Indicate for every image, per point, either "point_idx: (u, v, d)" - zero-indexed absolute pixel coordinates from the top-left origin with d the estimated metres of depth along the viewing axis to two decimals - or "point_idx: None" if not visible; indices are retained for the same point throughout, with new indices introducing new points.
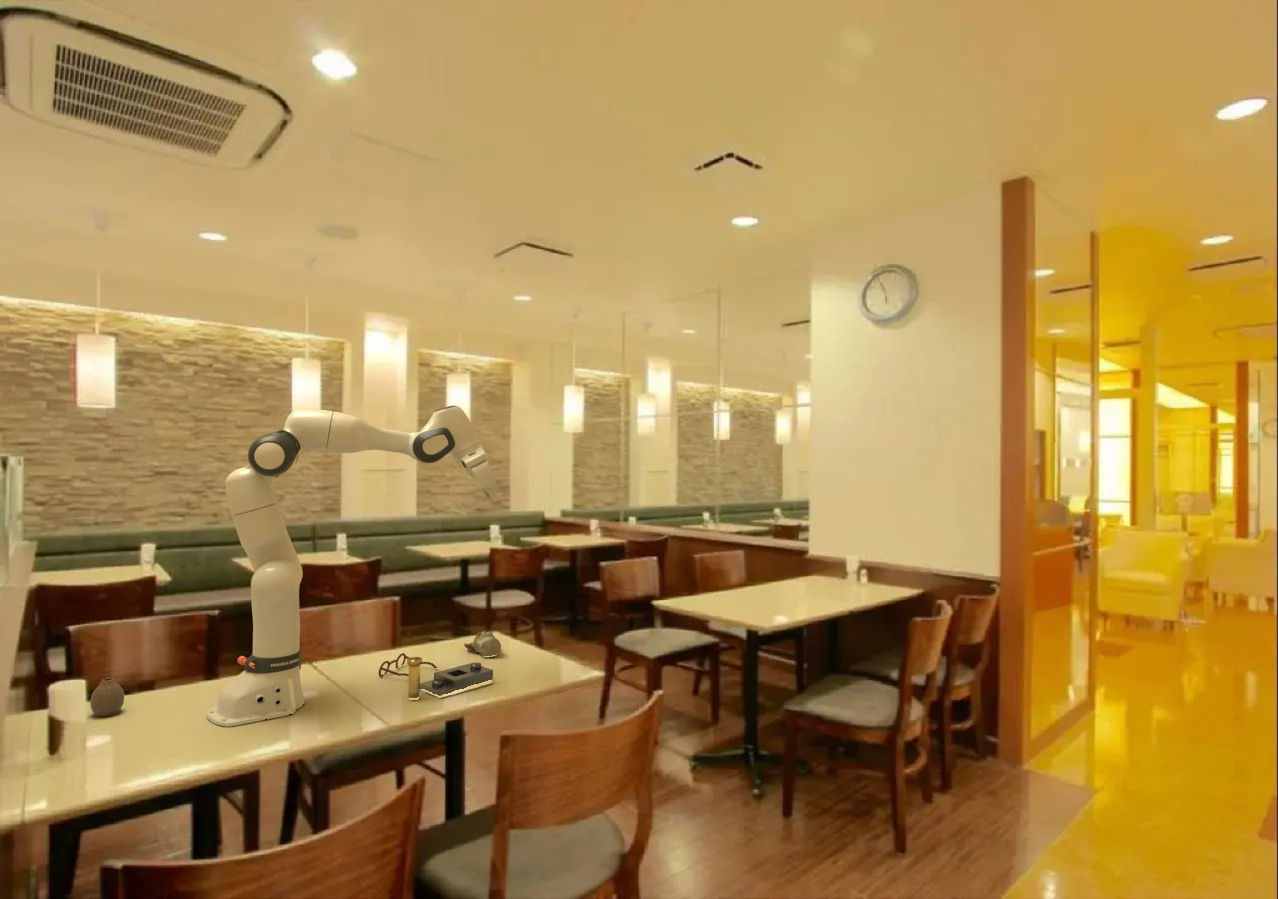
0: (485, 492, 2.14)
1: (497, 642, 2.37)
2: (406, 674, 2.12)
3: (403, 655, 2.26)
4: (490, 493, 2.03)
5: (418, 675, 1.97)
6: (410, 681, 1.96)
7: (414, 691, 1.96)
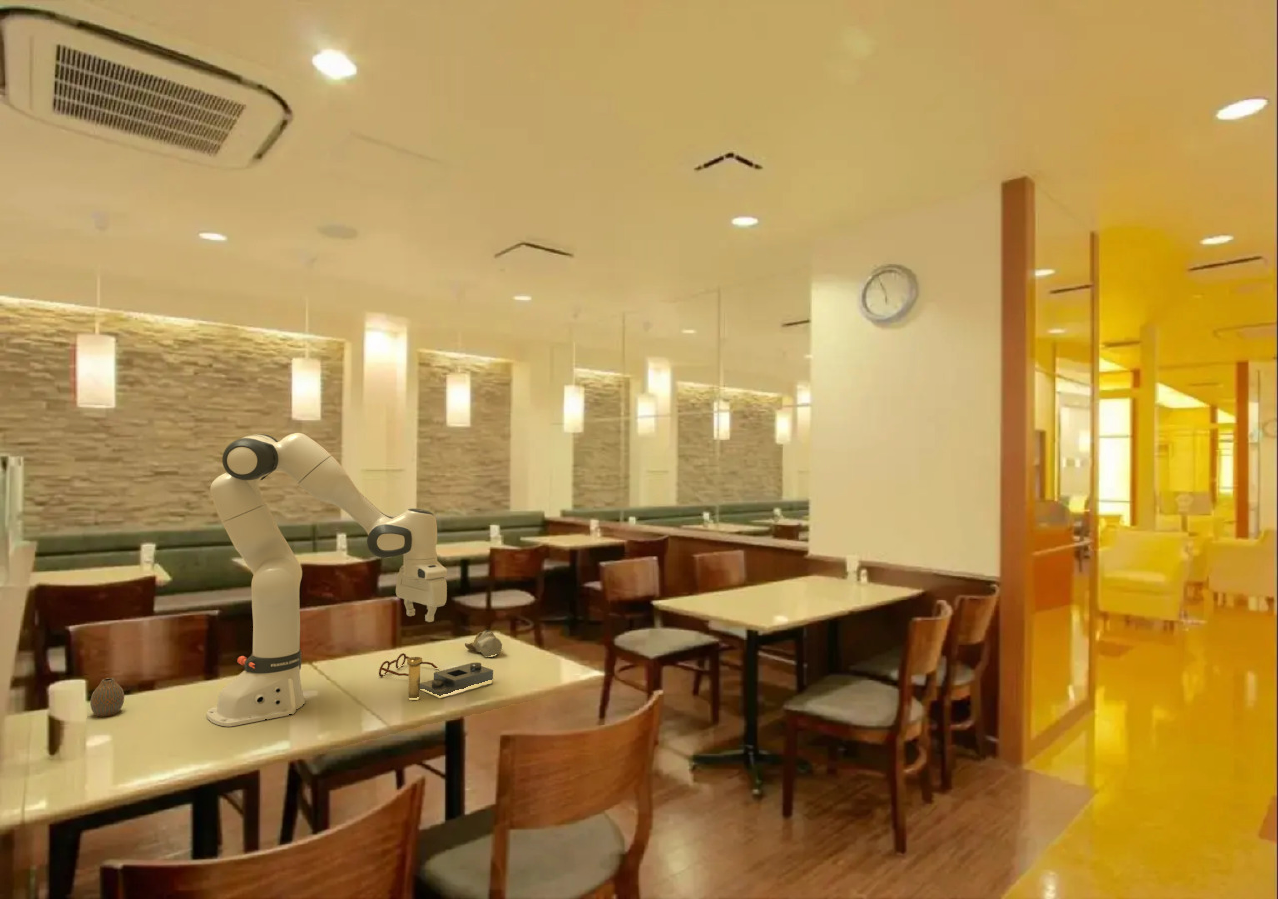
0: (408, 607, 2.01)
1: (498, 642, 2.38)
2: (406, 674, 2.12)
3: (404, 655, 2.26)
4: (430, 612, 1.93)
5: (418, 675, 1.97)
6: (410, 681, 1.96)
7: (414, 691, 1.96)
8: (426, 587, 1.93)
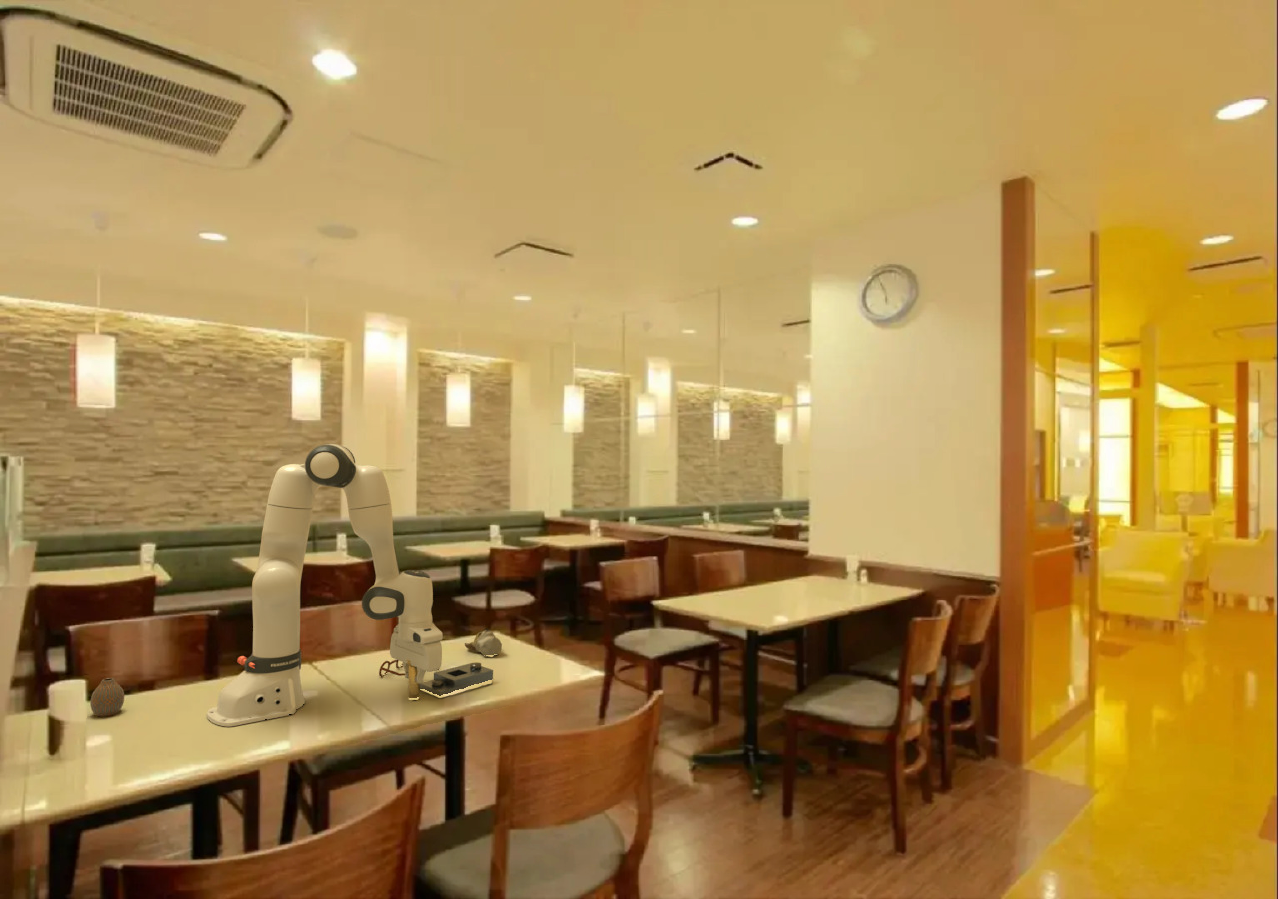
0: (407, 670, 1.99)
1: (498, 642, 2.38)
2: None
3: None
4: (420, 673, 1.95)
5: None
6: (410, 681, 1.96)
7: (414, 691, 1.96)
8: (421, 651, 1.93)
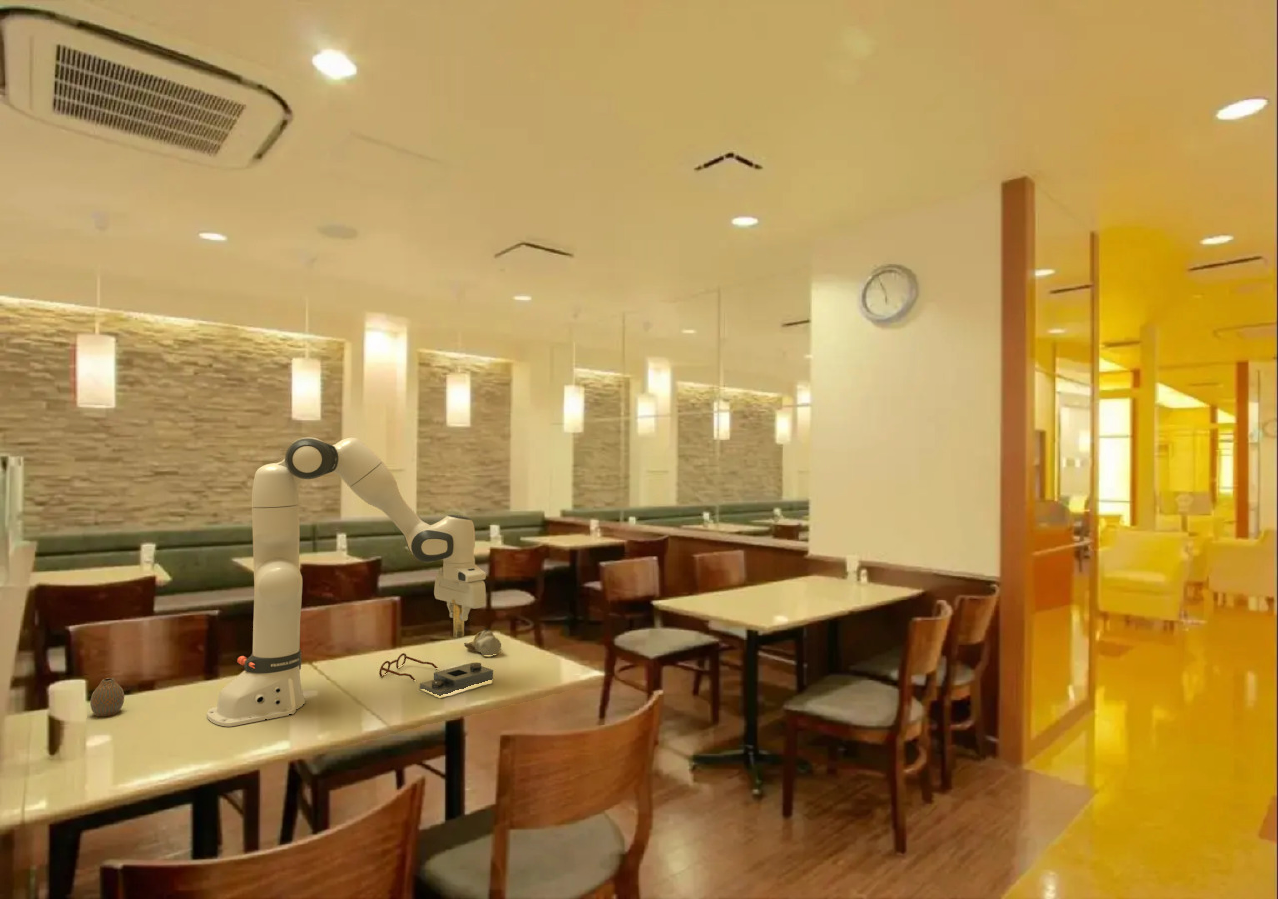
0: (451, 610, 2.09)
1: (497, 642, 2.38)
2: (407, 674, 2.12)
3: (404, 655, 2.26)
4: (465, 611, 2.05)
5: None
6: (455, 619, 2.07)
7: (459, 628, 2.07)
8: (466, 589, 2.03)
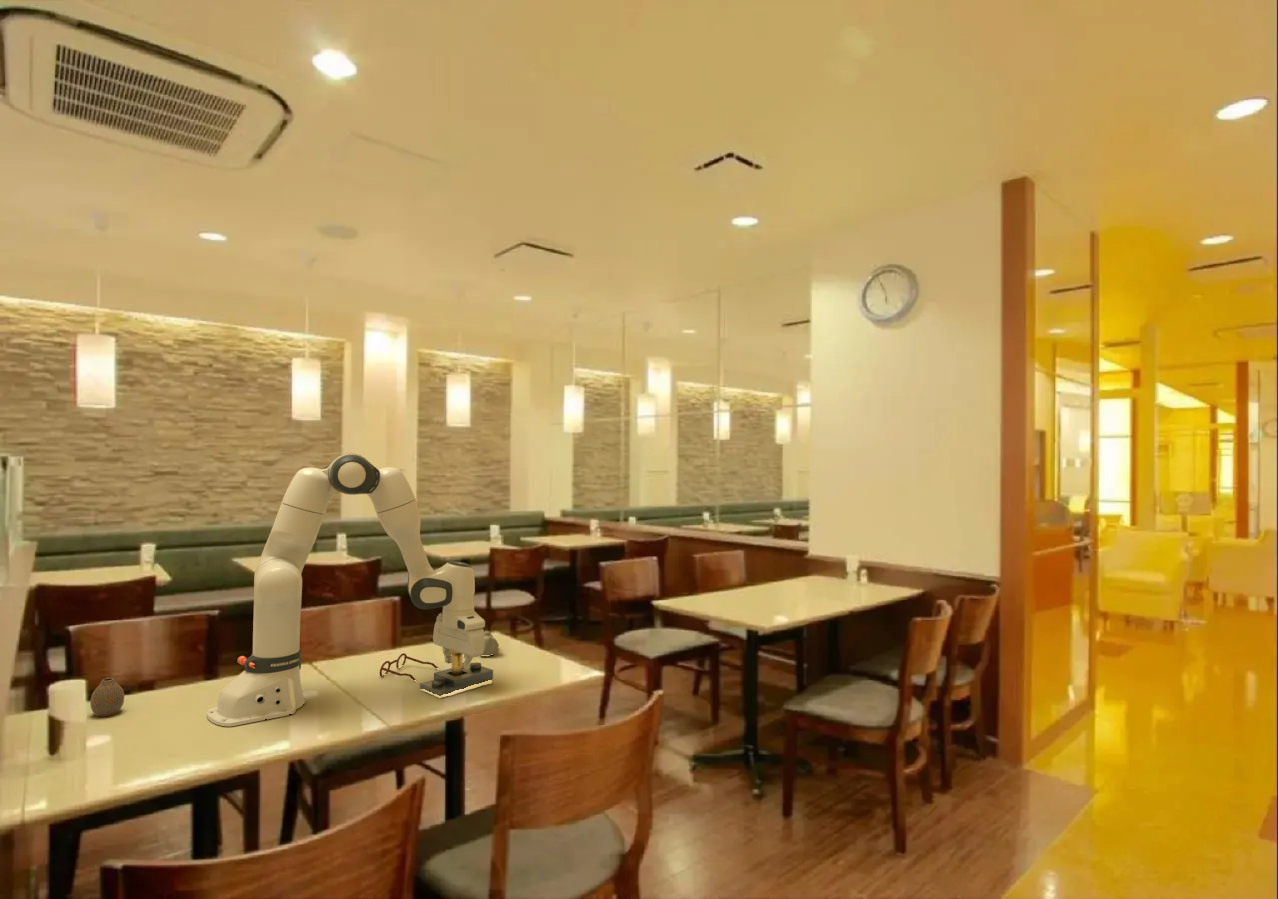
0: (446, 655, 2.11)
1: (494, 642, 2.38)
2: (407, 674, 2.12)
3: (404, 655, 2.26)
4: (467, 660, 2.04)
5: (461, 664, 2.08)
6: (453, 669, 2.07)
7: None
8: (465, 637, 2.03)
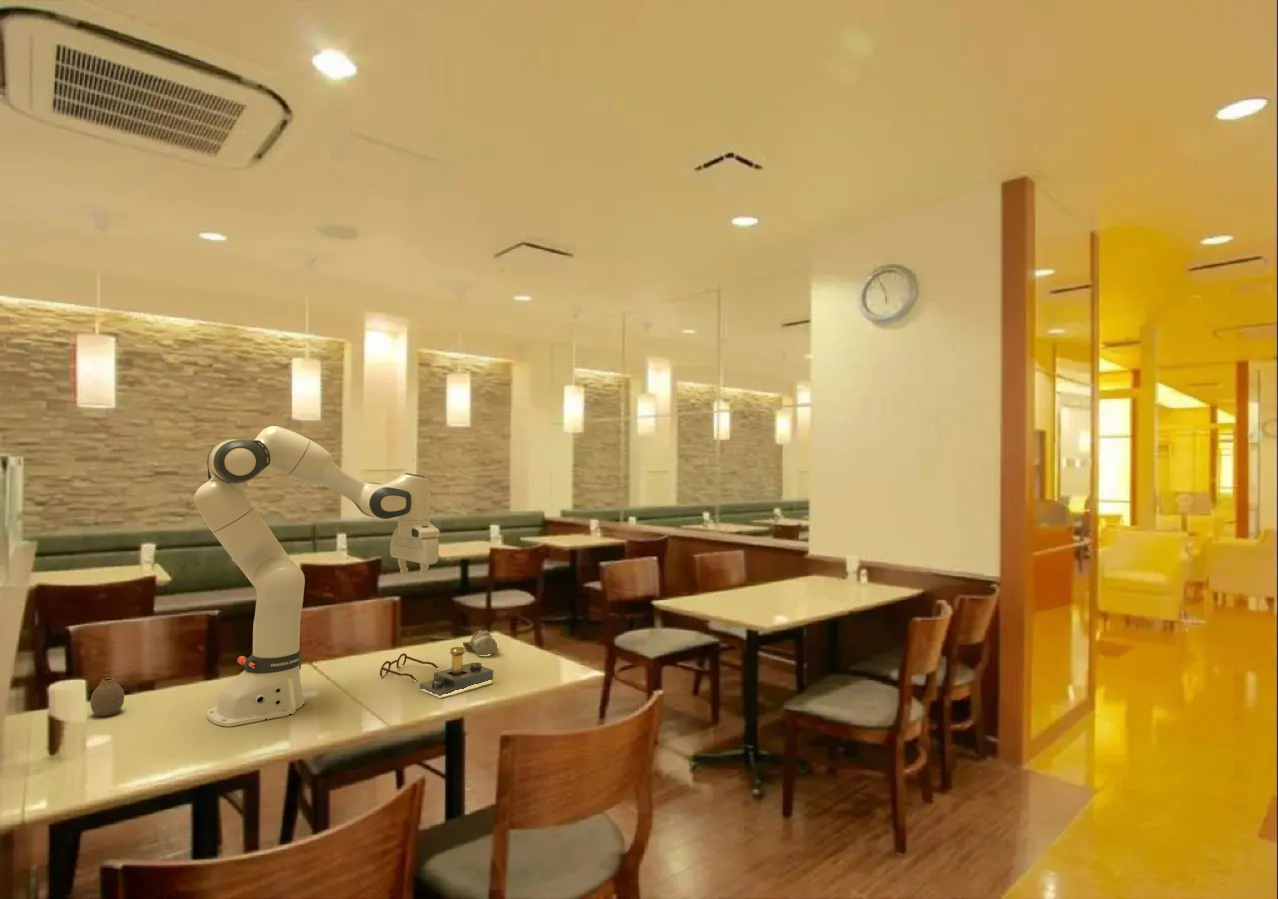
0: (402, 566, 2.14)
1: (492, 642, 2.38)
2: (407, 674, 2.12)
3: (404, 655, 2.26)
4: (423, 569, 2.07)
5: (461, 664, 2.08)
6: (453, 669, 2.07)
7: None
8: (419, 546, 2.06)
